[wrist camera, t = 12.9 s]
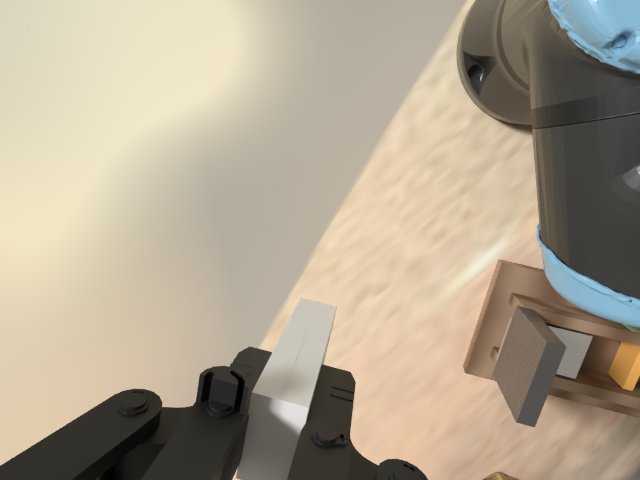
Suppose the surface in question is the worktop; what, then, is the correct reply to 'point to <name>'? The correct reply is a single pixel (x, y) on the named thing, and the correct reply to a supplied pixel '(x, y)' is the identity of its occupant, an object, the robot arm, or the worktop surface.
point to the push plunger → (535, 361)
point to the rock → (499, 477)
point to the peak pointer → (626, 366)
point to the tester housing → (537, 293)
